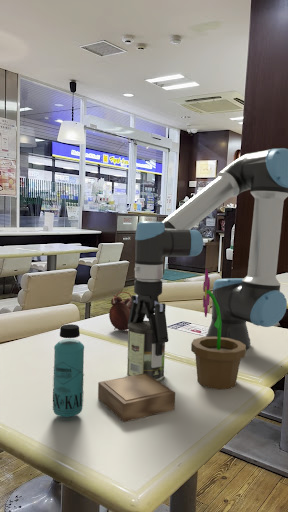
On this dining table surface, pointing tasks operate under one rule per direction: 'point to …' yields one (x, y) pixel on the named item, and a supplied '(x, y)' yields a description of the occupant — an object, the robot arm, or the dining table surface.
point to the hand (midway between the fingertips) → (145, 360)
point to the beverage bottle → (68, 373)
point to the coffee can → (142, 351)
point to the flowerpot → (216, 352)
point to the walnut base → (136, 396)
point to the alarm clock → (120, 312)
